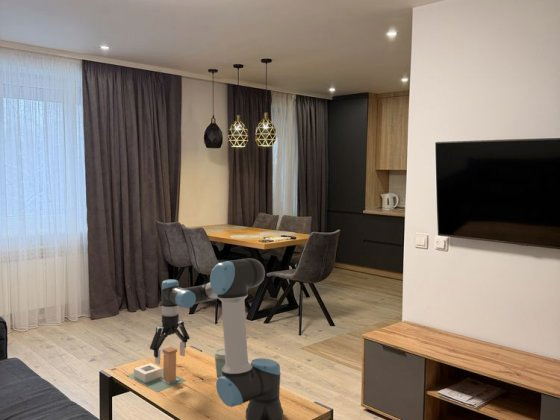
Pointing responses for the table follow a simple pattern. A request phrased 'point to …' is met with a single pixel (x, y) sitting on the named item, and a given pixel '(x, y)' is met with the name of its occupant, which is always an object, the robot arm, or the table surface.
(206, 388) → the table surface
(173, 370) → the plug
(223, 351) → the coffee cup
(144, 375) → the peg socket board
